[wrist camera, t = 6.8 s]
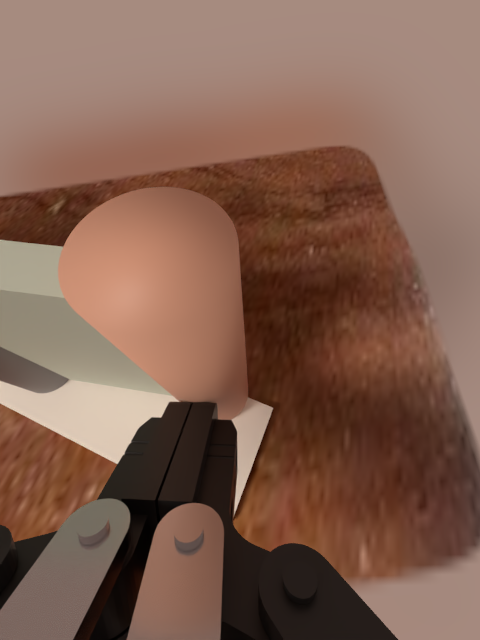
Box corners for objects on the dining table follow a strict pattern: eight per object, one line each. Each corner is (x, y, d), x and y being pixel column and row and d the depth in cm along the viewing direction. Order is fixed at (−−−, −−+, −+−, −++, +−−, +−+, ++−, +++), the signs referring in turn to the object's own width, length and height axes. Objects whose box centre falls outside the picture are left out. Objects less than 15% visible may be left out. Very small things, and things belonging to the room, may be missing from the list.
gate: (65, 399, 14) (-279, 276, 5) (88, 341, 16) (-152, 160, 6) (243, 428, 14) (220, 345, 4) (252, 365, 15) (250, 193, 5)
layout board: (-141, 328, 18) (-151, 325, 17) (15, 179, 23) (11, 174, 22) (231, 521, 13) (231, 523, 12) (322, 274, 18) (323, 270, 18)
